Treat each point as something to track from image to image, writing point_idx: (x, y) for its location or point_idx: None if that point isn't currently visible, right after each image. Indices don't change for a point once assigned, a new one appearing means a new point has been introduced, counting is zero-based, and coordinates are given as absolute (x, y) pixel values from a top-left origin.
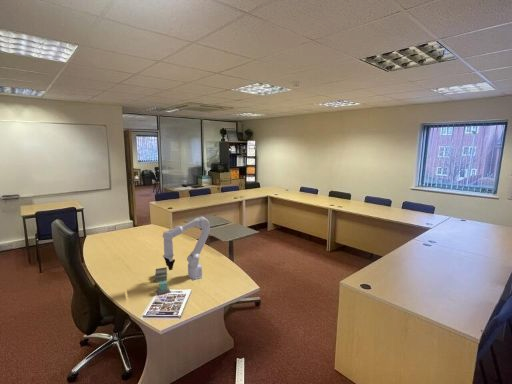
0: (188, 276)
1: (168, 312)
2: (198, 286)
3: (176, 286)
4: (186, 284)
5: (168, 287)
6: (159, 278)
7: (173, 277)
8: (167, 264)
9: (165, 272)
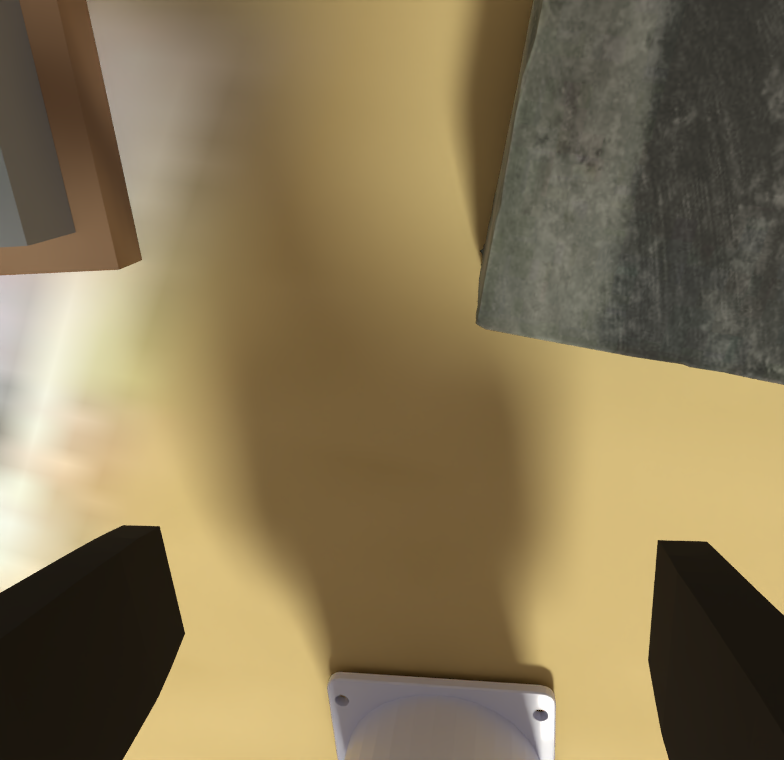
0: (430, 718)
1: None
2: None
3: (195, 424)
4: (213, 589)
5: (98, 269)
6: (518, 95)
7: (664, 462)
8: (679, 629)
9: (775, 346)
